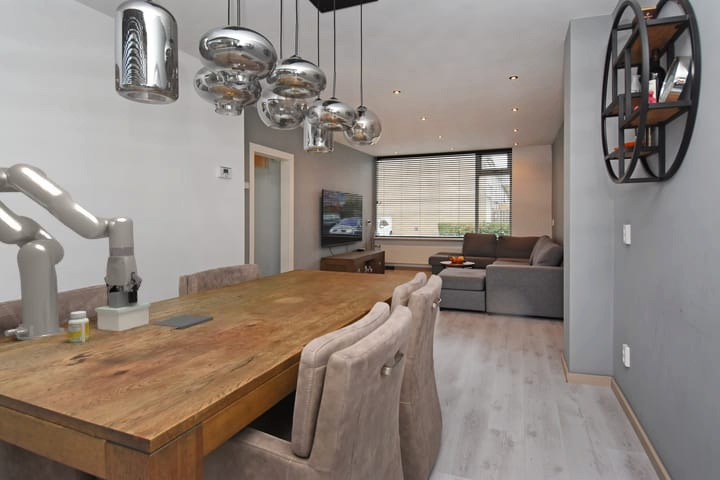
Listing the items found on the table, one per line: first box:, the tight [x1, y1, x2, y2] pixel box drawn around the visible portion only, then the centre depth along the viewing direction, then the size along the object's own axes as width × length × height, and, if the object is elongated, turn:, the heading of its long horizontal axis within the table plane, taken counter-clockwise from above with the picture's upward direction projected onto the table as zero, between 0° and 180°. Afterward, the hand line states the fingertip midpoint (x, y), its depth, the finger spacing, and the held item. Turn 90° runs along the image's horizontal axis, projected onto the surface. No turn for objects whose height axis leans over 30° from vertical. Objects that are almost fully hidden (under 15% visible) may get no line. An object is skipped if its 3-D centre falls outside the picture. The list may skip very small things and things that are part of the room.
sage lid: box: [94, 290, 151, 313], centre depth 144 cm, size 13×11×7 cm
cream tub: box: [96, 307, 150, 332], centre depth 144 cm, size 12×10×7 cm
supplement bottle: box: [67, 310, 90, 344], centre depth 126 cm, size 5×5×10 cm
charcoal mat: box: [150, 313, 214, 331], centre depth 152 cm, size 16×14×1 cm
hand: (123, 301), depth 144 cm, fingers open, 8 cm apart
